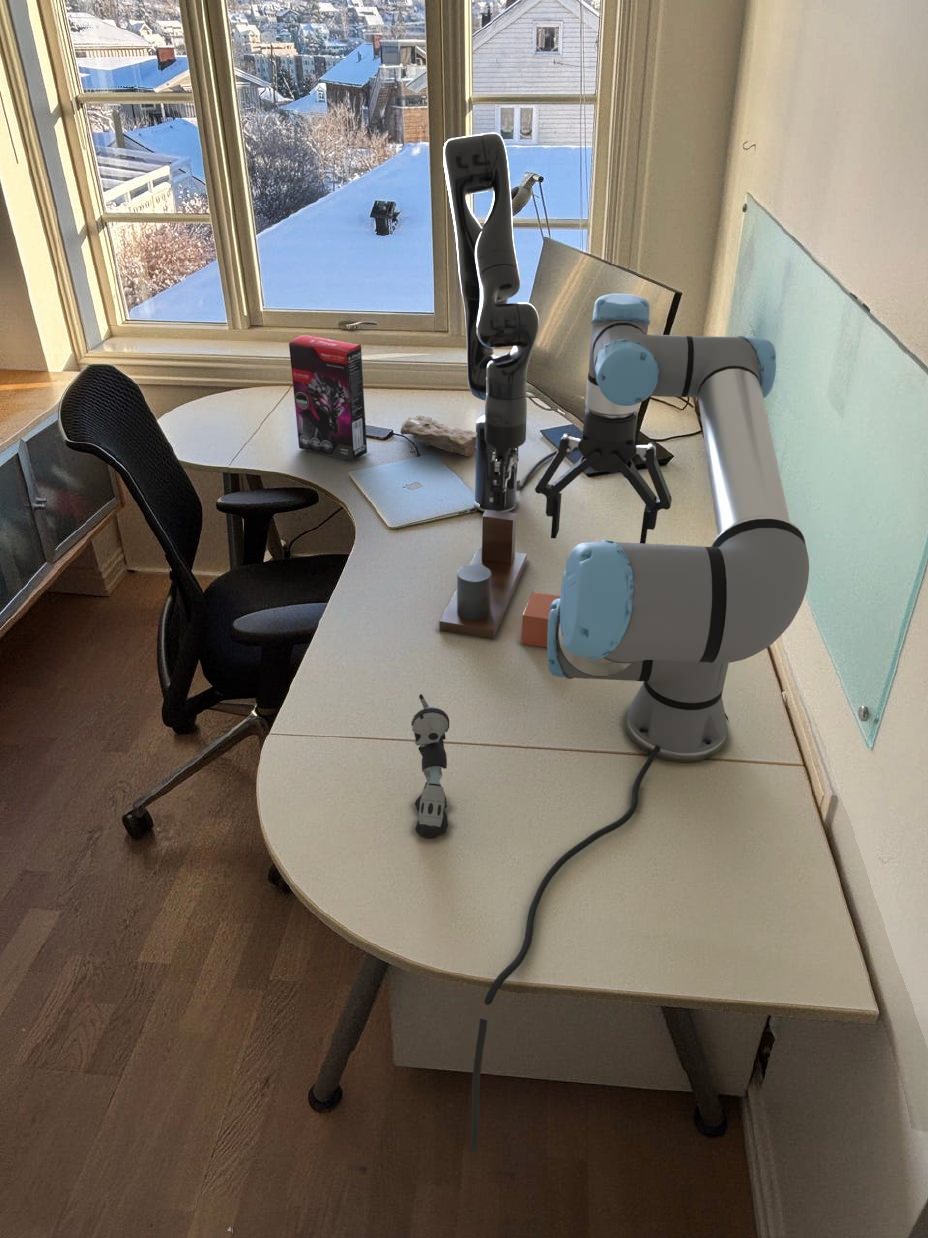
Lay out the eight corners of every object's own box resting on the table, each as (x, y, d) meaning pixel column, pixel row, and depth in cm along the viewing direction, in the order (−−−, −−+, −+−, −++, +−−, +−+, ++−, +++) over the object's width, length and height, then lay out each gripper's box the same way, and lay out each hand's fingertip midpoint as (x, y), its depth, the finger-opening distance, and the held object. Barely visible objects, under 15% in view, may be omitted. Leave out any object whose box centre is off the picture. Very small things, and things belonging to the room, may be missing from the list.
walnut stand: (493, 639, 163) (495, 581, 157) (439, 630, 165) (439, 573, 159) (526, 562, 186) (529, 508, 179) (478, 555, 188) (479, 502, 181)
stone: (384, 439, 228) (389, 416, 226) (404, 431, 242) (409, 408, 239) (464, 464, 225) (469, 440, 222) (479, 454, 238) (485, 431, 236)
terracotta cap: (566, 650, 160) (568, 622, 157) (521, 643, 162) (522, 615, 159) (573, 626, 167) (576, 598, 164) (530, 619, 169) (532, 591, 165)
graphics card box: (296, 449, 231) (285, 340, 216) (313, 439, 236) (303, 333, 221) (353, 463, 224) (346, 352, 209) (369, 453, 229) (363, 343, 214)
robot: (452, 871, 119) (452, 756, 108) (414, 872, 119) (410, 757, 108) (447, 767, 136) (446, 657, 124) (413, 768, 135) (410, 658, 124)
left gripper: (518, 434, 159) (516, 517, 169) (533, 404, 171) (530, 483, 180) (476, 430, 161) (476, 512, 170) (493, 400, 172) (492, 479, 181)
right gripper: (702, 408, 131) (681, 539, 143) (530, 391, 136) (524, 518, 148) (699, 428, 125) (678, 563, 137) (519, 409, 130) (514, 540, 142)
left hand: (504, 497), depth 175 cm, fingers open, 8 cm apart
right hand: (598, 540), depth 143 cm, fingers open, 13 cm apart
